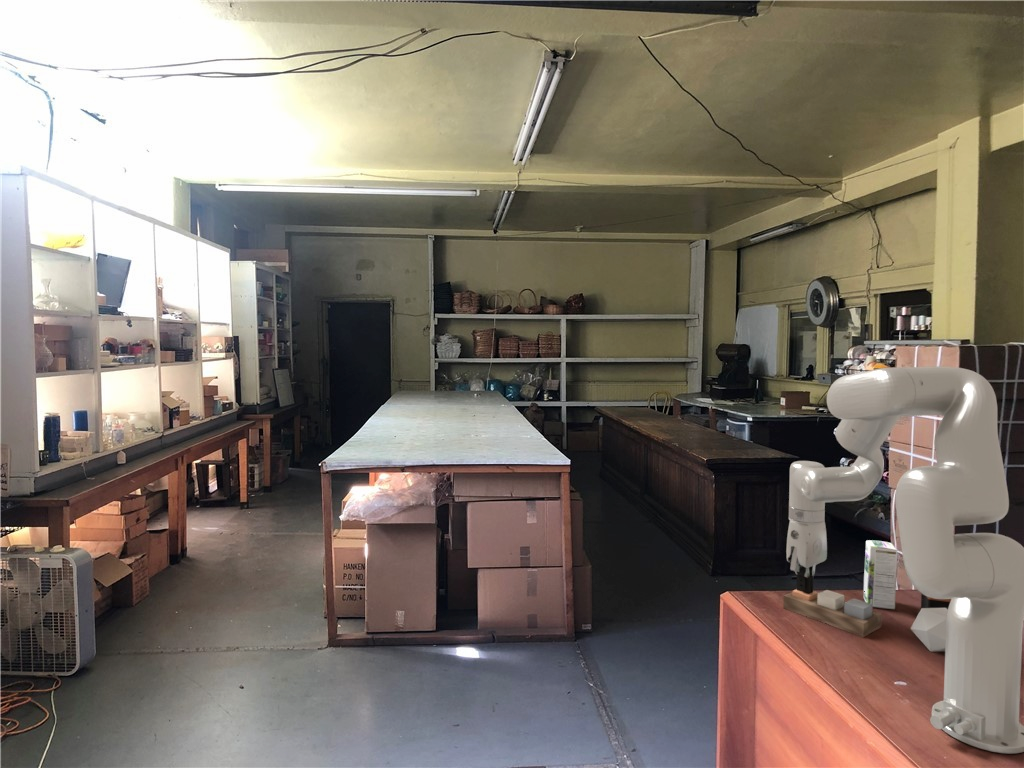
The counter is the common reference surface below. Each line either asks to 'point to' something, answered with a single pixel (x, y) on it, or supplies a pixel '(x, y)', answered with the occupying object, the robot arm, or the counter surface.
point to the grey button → (858, 609)
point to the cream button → (830, 599)
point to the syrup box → (880, 574)
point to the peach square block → (805, 595)
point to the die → (931, 628)
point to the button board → (832, 616)
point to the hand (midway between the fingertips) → (804, 591)
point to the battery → (934, 602)
